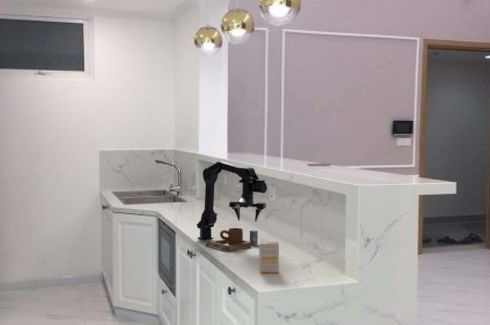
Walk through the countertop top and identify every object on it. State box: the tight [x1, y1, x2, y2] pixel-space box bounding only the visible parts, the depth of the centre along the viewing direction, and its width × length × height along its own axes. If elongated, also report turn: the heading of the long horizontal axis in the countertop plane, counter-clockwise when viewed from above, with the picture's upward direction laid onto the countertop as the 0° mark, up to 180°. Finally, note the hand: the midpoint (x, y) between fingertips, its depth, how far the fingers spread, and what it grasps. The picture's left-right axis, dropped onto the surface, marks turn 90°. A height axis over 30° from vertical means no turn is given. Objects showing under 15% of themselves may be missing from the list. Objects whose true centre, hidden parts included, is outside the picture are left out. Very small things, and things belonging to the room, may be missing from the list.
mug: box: [219, 227, 244, 246], centre depth 291 cm, size 12×8×9 cm, turn 103°
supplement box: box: [258, 240, 280, 274], centre depth 243 cm, size 8×5×13 cm, turn 92°
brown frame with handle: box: [205, 229, 259, 252], centre depth 295 cm, size 18×24×7 cm
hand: (247, 221), depth 294 cm, fingers open, 9 cm apart
